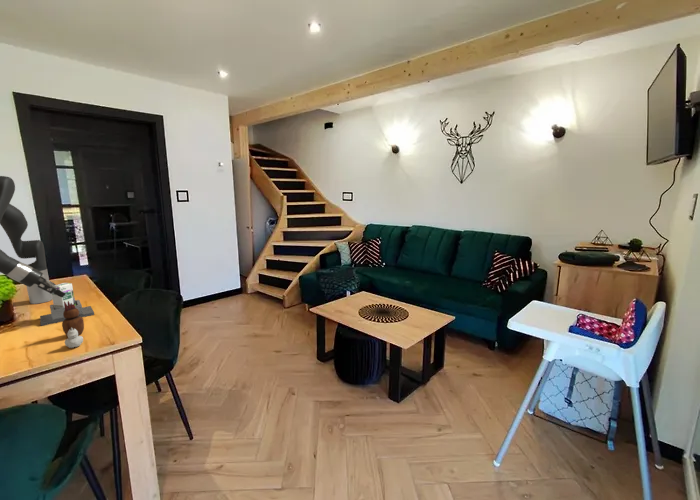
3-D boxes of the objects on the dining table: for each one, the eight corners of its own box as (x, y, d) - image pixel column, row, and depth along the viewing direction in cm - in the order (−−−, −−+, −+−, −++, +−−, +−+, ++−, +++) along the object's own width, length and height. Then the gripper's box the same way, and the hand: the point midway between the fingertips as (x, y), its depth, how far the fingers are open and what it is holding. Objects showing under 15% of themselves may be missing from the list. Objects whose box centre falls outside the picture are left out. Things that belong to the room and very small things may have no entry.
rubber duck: (65, 351, 124) (61, 330, 123) (66, 345, 129) (62, 325, 128) (84, 347, 127) (80, 327, 126) (83, 341, 132) (80, 321, 131)
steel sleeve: (40, 318, 158) (38, 306, 157) (90, 308, 171) (89, 297, 170) (40, 326, 149) (38, 313, 148) (94, 314, 161) (92, 303, 160)
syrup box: (65, 316, 156) (59, 286, 153) (55, 316, 157) (49, 285, 155) (77, 312, 162) (72, 283, 159) (67, 311, 163) (62, 282, 160)
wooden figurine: (67, 339, 134) (61, 303, 131) (62, 336, 137) (55, 301, 134) (87, 333, 140) (82, 298, 137) (81, 330, 143) (76, 296, 140)
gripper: (32, 269, 144) (71, 290, 154) (31, 264, 154) (68, 284, 164) (17, 284, 142) (57, 304, 151) (18, 278, 152) (56, 297, 162)
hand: (63, 293), depth 158 cm, fingers open, 8 cm apart
